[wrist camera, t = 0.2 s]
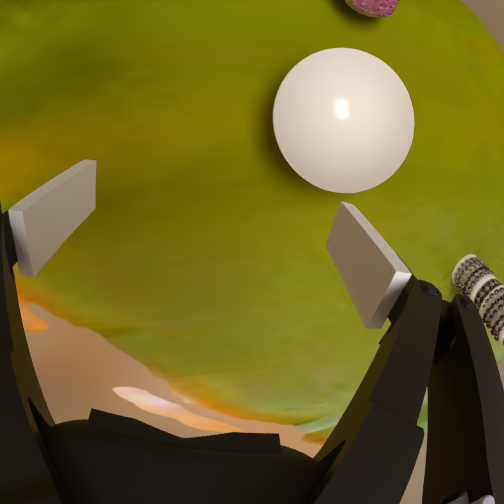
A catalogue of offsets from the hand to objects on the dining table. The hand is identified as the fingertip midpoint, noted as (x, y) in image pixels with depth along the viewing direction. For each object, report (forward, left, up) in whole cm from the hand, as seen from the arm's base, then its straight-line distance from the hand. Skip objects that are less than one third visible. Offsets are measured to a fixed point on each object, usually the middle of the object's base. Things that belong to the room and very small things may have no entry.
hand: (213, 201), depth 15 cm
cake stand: (-6, +13, -28) cm, 31 cm away
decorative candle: (+14, +55, -28) cm, 64 cm away
